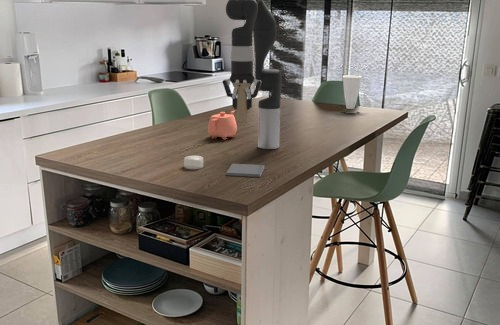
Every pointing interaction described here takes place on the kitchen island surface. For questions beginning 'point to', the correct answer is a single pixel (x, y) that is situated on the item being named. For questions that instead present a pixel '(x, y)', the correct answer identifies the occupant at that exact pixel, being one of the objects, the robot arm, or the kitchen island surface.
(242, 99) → the handle
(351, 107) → the cup
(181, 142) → the kitchen island surface
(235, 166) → the coaster
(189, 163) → the white dome knob
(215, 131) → the teapot
